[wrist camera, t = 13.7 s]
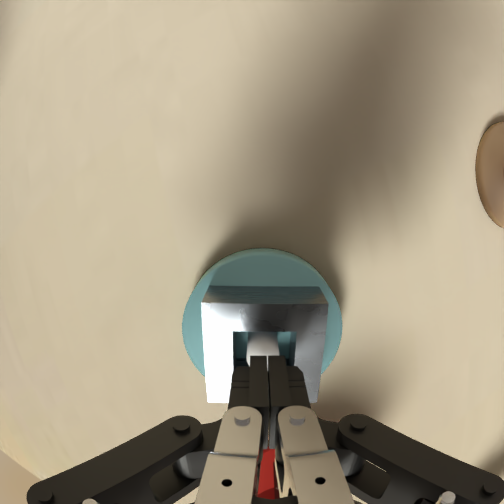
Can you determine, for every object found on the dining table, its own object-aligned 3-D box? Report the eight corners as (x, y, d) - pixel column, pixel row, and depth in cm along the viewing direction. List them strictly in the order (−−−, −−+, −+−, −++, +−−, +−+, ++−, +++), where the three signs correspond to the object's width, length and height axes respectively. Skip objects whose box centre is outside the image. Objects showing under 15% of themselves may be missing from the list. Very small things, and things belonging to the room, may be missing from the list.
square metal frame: (319, 286, 17) (328, 303, 14) (310, 377, 18) (316, 402, 16) (208, 285, 17) (201, 302, 14) (213, 376, 18) (207, 402, 16)
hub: (362, 317, 19) (386, 352, 15) (261, 400, 21) (261, 445, 16) (262, 215, 18) (263, 226, 14) (160, 318, 20) (137, 353, 15)
